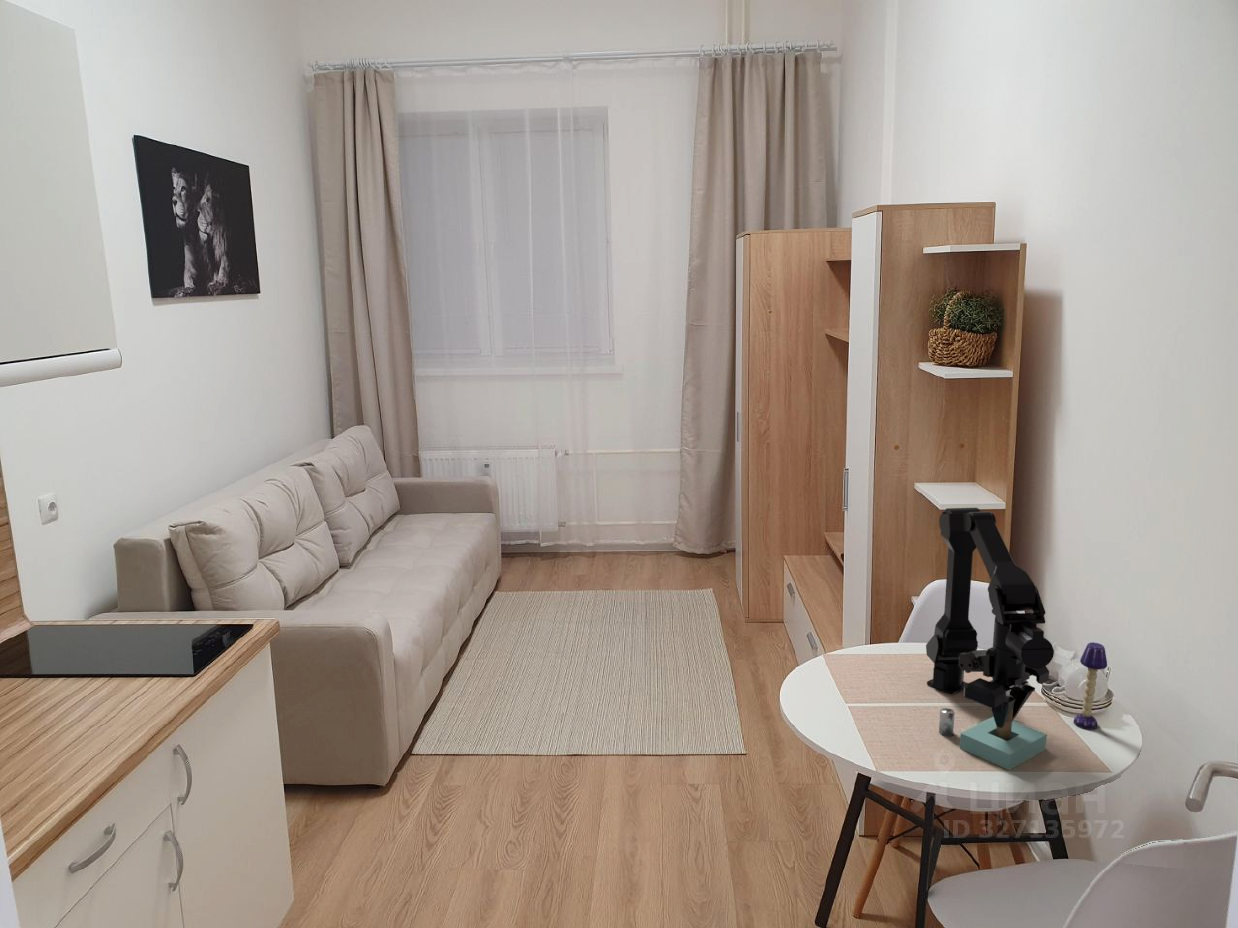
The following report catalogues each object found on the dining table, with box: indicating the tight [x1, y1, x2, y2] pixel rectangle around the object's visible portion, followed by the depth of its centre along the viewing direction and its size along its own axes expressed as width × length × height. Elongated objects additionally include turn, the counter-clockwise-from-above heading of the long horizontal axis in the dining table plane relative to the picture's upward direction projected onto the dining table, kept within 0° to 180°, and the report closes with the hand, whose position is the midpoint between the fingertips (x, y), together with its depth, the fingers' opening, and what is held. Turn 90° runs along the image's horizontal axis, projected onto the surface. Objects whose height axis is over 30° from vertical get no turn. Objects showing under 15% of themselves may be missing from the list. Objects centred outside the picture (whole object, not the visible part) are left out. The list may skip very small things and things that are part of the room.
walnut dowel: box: [996, 695, 1014, 740], centre depth 173 cm, size 3×3×8 cm
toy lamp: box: [1073, 641, 1108, 730], centre depth 181 cm, size 5×5×17 cm
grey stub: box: [938, 707, 955, 737], centre depth 180 cm, size 3×3×4 cm
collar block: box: [959, 715, 1048, 771], centre depth 174 cm, size 12×10×3 cm
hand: (1004, 724), depth 173 cm, fingers closed on walnut dowel, 3 cm apart
